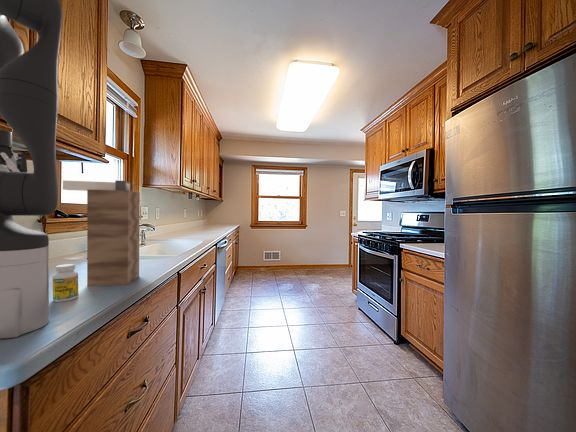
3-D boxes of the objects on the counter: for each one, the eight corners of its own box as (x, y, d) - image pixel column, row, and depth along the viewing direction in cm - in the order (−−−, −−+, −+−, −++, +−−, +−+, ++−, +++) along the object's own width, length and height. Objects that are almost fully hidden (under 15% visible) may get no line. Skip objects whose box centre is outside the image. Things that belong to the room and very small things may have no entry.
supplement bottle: (79, 294, 73) (79, 262, 72) (76, 300, 68) (76, 266, 68) (55, 297, 70) (55, 264, 69) (50, 303, 65) (50, 268, 65)
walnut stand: (127, 284, 83) (127, 190, 82) (87, 286, 80) (87, 189, 80) (139, 276, 93) (139, 192, 92) (103, 277, 90) (103, 191, 89)
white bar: (125, 191, 85) (125, 180, 84) (61, 189, 81) (61, 178, 81) (130, 192, 89) (130, 182, 89) (70, 190, 85) (70, 180, 85)
